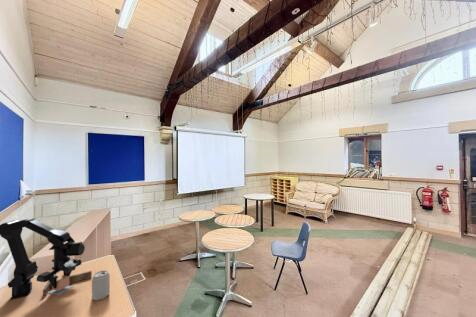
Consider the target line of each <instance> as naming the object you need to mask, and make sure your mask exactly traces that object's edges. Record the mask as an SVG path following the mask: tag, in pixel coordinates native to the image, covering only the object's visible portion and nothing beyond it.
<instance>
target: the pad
mask: <svg viewBox="0 0 476 317" xmlns="http://www.w3.org/2000/svg"><path fill="white" fill-rule="evenodd" d="M71 288H73V286H71V285H68V286H67V287H65V288H63V289H61V290H60V291H58V290H51V291H50V292H49V291H48V294H52V295H57V296H60V295H61V294H63V293H65V292H66V291H68V290H69V289H71Z"/></svg>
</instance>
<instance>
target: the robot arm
mask: <svg viewBox="0 0 476 317" xmlns="http://www.w3.org/2000/svg"><path fill="white" fill-rule="evenodd" d="M23 228H26V229H28V230H29V231H32V232H35V233H37V234H38V235H40V236H42V237H45V238H46V239H47V241H48V242H49V243H50V244H51V245H52V246H51V247H50V248H48V250H49V251H53V259H51V262H52V263H53V266H52V267H51V270H52V271H44V272H41V273H40V274H38V275H37V277H36V282H40V283H47V282H48V281H49V282H50V283H51V285H52V286H53V288H54V289H56V287H57V278H58V277H59V275H57V274H58V273H60V272H63V275H66V276H71V273H72V272H73V271H75V270H76V268H77V267H79V266H80V265H82V260H81V259H80V258H72V259H71V257H74V256H82V255H83V254H84V252H85V250H86V249H85V244H84V243H83V241H78V242H76V241H75V239H74V238H73V237H72V236H71V233H70V232H68V231H65V230H62V229H61V230H60V229H54V228H52V227H51V226H48V225H47V224H45V223H43V222H40V221H39V220H38V219H36V218H35V217H29V218H26V219H22V220H18V219H13V220H9V221H7V222H3V223H0V237H1V238H3V239H4V240H6V241H7V244H8V247H9V250H10V254H11V256H12V259H13V262H14V265H15V267H14V270H13V278H12V279H11V280H10V281H9V282H8V283H7V286H8V288H9V289H10V288H11V297H10V298H9V299H10V300H14V299H13V298H15V299H18V298H22V297H25V296H29V294H30V292H32V290H33V282H32V279H34V276H35V275H36V274H37V272H38V268H39V266H37V261H35V260H34V261H31V260H30V259H29V256H28V253H27V250H26V247H25V245H24V242H23V241H24V240H23V238H22V233H23V232H22V231H23Z"/></svg>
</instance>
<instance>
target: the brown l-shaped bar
mask: <svg viewBox="0 0 476 317" xmlns="http://www.w3.org/2000/svg"><path fill="white" fill-rule="evenodd" d="M92 274H93V272H92V270H89V271H85V272H80V273H76V274H72V275H71V274H70V276H69V284H70V283H75V282H78V281H82V280H86V279H92V278H93V275H92ZM50 289H52V285H51V283H50V282H49V281H47V282H46V285H45V286H44V287H43V289H42V297H46V296H47V295H48V294H49V291H50Z"/></svg>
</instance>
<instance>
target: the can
mask: <svg viewBox="0 0 476 317" xmlns="http://www.w3.org/2000/svg"><path fill="white" fill-rule="evenodd" d="M110 276H111V275H110V273H109V271H108V270H106V269H104V270H99V271H97V272H95V273H94V274H93V276H92V277H91V299H92V300H94V301H96V302H97V301H101V300H104V299H105V298H107V297H108V295H109V294H110V285H111V284H110V278H111V277H110Z"/></svg>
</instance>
